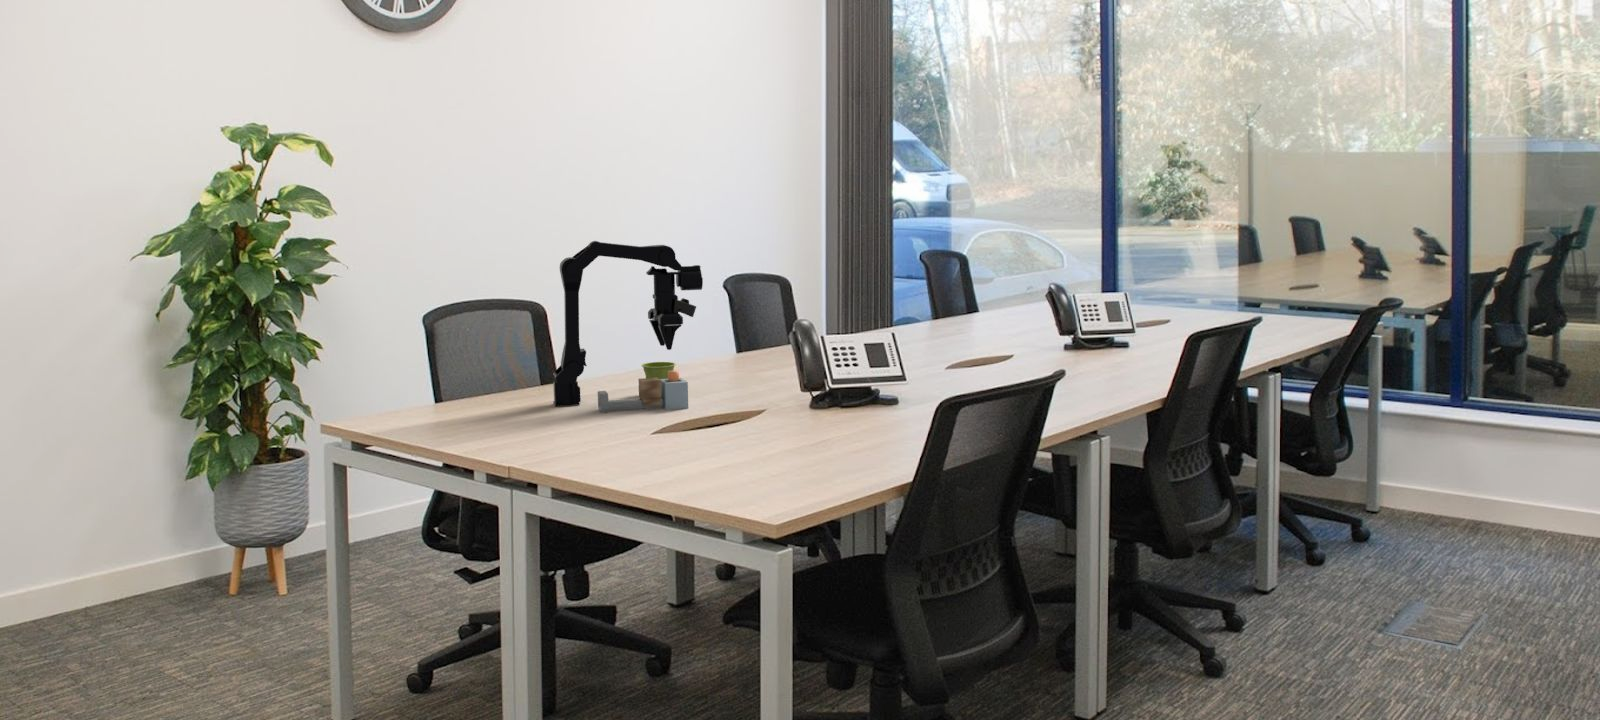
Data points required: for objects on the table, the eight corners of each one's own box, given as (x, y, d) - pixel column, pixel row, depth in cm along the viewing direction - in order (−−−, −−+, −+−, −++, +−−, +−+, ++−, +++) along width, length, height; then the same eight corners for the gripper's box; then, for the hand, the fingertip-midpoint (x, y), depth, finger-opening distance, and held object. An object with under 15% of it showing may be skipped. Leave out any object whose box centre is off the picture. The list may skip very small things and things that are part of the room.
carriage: (642, 405, 362) (641, 381, 361) (639, 402, 367) (638, 378, 366) (661, 404, 364) (660, 380, 363) (657, 401, 368) (656, 377, 368)
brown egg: (669, 385, 365) (668, 372, 364) (667, 384, 368) (666, 370, 367) (680, 385, 366) (679, 371, 365) (678, 383, 368) (677, 370, 368)
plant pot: (674, 397, 383) (673, 366, 381) (640, 397, 383) (639, 366, 382) (678, 391, 392) (677, 361, 391) (645, 392, 392) (644, 362, 391)
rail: (601, 412, 359) (600, 394, 359) (598, 409, 364) (597, 391, 363) (668, 408, 364) (668, 389, 364) (665, 405, 369) (664, 387, 368)
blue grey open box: (666, 409, 363) (665, 383, 362) (660, 404, 370) (659, 379, 369) (688, 408, 364) (687, 382, 363) (682, 403, 372) (681, 377, 371)
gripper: (700, 292, 369) (702, 350, 371) (686, 287, 387) (687, 342, 389) (660, 294, 366) (661, 352, 368) (646, 288, 384) (648, 344, 386)
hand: (665, 347), depth 378 cm, fingers open, 9 cm apart
